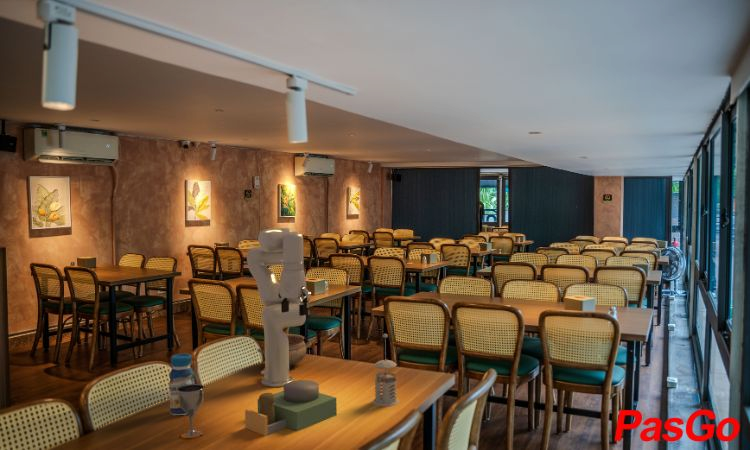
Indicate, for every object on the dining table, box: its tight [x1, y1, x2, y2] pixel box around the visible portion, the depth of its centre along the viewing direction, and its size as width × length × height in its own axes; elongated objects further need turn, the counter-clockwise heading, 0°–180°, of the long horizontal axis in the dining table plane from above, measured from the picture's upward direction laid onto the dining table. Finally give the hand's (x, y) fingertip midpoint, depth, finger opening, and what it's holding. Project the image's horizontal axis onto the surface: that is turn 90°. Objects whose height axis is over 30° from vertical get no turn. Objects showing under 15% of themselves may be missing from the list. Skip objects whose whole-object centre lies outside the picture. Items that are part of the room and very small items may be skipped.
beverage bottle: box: [168, 353, 195, 416], centre depth 208 cm, size 8×8×20 cm
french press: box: [372, 333, 400, 407], centre depth 216 cm, size 10×12×25 cm
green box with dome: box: [244, 379, 338, 437], centre depth 200 cm, size 20×27×10 cm
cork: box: [258, 392, 276, 425], centre depth 194 cm, size 6×6×11 cm
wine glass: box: [178, 383, 205, 436], centre depth 188 cm, size 8×8×15 cm
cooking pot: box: [257, 333, 312, 368], centre depth 265 cm, size 25×19×12 cm
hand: (294, 313), depth 218 cm, fingers open, 9 cm apart
